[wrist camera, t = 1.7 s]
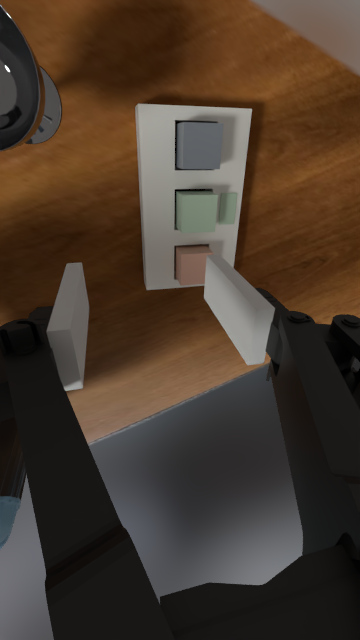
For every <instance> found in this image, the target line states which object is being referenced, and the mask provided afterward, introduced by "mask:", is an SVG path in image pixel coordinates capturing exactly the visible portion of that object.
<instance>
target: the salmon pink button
mask: <svg viewBox="0 0 360 640" xmlns="http://www.w3.org/2000/svg"><path fill="white" fill-rule="evenodd" d="M207 255H213V252H212V251H211V250H210V249H209V248H208V247H207V246H206V245H195V246H176V263H175V276H176V278H177V280H178V282H179V283H180V285H181V286H182V285H194V284H205V272H206V256H207Z"/></svg>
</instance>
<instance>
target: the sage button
mask: <svg viewBox="0 0 360 640" xmlns="http://www.w3.org/2000/svg"><path fill="white" fill-rule="evenodd" d="M217 200H218V195H217V194H215V193H213V192H211V191H176V227H177V228H178V230H179V231H180V232H181V233H199V232H215V226H216V213H217Z"/></svg>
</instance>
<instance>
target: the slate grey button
mask: <svg viewBox="0 0 360 640" xmlns="http://www.w3.org/2000/svg"><path fill="white" fill-rule="evenodd" d="M222 136H223V123H198V122H182V123H178V124H177V145H176V167H178V168H181V169H220V162H221V149H222Z"/></svg>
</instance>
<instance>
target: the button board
mask: <svg viewBox="0 0 360 640" xmlns="http://www.w3.org/2000/svg"><path fill="white" fill-rule="evenodd" d="M135 114H136V133H137V153H138V172H139V192H140V211H141V231H142V250H143V270H144V283H145V286H146V289H147V290H156V289H168V288H181V287H193V286H205V284H194V285H182V286H181V285H180V283H179V282H178V280H177V278H176V276H175V271H174V246H178V245H198V244H202V245H206V246H207V247H208V248H209V249H210V250H211V251H212V252H213V255H216V254H219V255H220V256H221V257H222V258H224V259H225V260H226V261H227V262H228V263H229V264H230V265H231V266H232V267H233V268H234V260H235V251H236V243H237V234H238V226H239V217H240V209H241V200H242V192H243V183H244V175H245V166H246V157H247V149H248V140H249V132H250V123H251V115H252V109H246V108H224V107H202V106H179V105H157V104H137V105H136V106H135ZM175 122H198V123H223V136H222V149H221V162H220V169H181V168H175ZM175 189H206V190H205V191H211V192H213V193H215V194H217V195H218V200H217V213H216V226H215V232H199V233H181V232H180V231H179V230H178V228H177V227H176V224H174V214H175Z"/></svg>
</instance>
